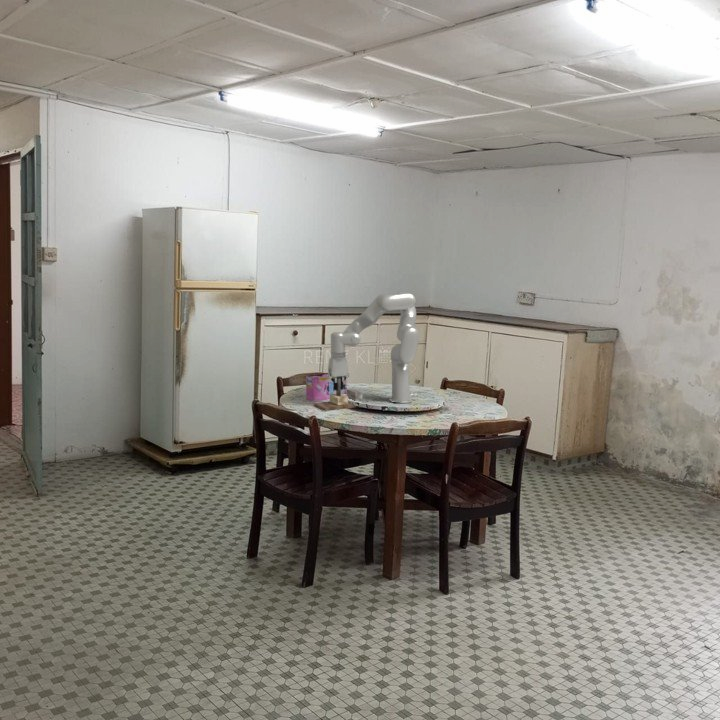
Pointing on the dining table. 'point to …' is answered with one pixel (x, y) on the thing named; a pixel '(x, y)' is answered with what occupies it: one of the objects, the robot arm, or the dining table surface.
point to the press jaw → (338, 395)
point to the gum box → (321, 387)
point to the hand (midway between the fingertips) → (338, 389)
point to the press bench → (351, 394)
